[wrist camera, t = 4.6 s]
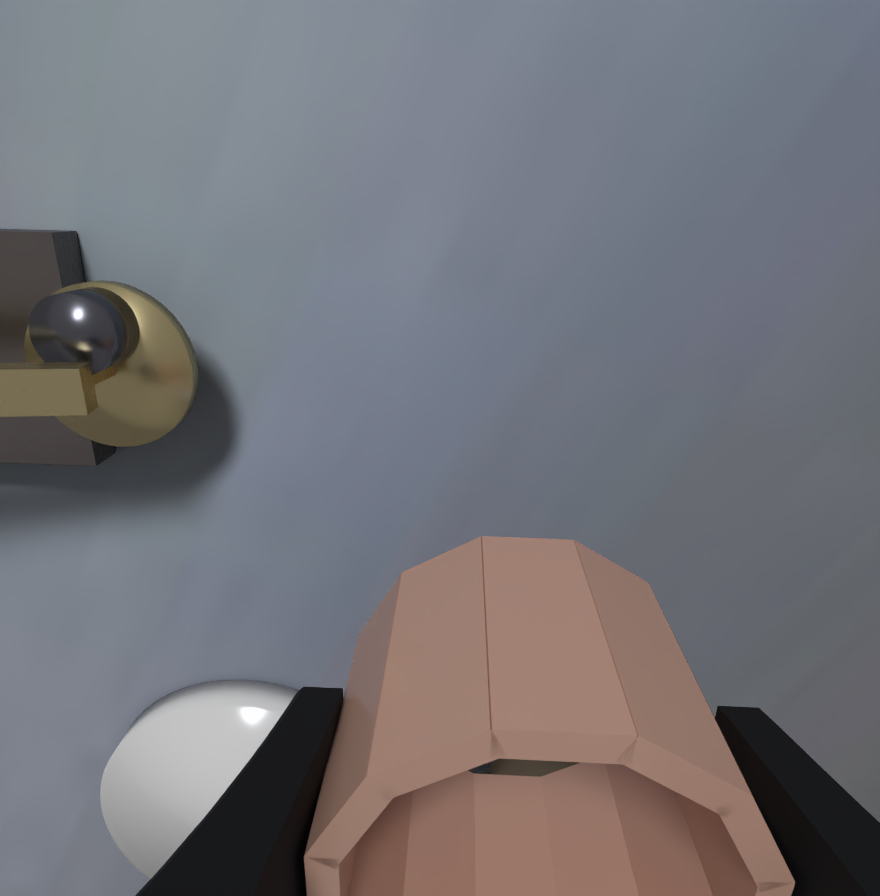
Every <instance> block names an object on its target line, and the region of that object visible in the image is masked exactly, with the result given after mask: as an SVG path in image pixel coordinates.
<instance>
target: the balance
mask: <svg viewBox="0 0 880 896" xmlns="http://www.w3.org/2000/svg"><path fill="white" fill-rule="evenodd" d="M198 379H199V375H198V364H197V359H196V355H195V352H194V349H193V346H192V343H191V341H190V339H189V337H188V335H187V333H186V332H185V330H184V328H183V327H182V325H181V324H180V323H179V321H178V320H177V319H176V317H175V316H174V315H173V314H172V313H171V312H170V311H169V310H168V309H167V308H166V307H165V306H164V305H163V304H161V303H160V302H159V301H158V300H156V299H155V298H153V297H152V296H150V295H149V294H147V293H145V292H143V291H141V290H139V289H137V288H135V287H132V286H129V285H127V284H123V283H118V282H114V281H103V280H102V281H89V282H85V278H84V272H83V267H82V261H81V255H80V250H79V244H78V238H77V233H76V231H57V230H20V229H0V462H2V463H28V464H55V465H81V466H97V465H98V464H100V463H101V462H103V461H104V460H106V459H107V458H108V457H110V456H111V455H113V454H114V453H115V447H114V446H119V447H132V446H139V445H144V444H147V443H150V442H153V441H155V440H157V439H159V438H161V437H163V436H164V435H166V434H167V433H168V432H170V431H171V430H172V429H174V428H175V427H176V426H177V425H178V424H179V423H181V422H182V420H183V419H184V418H185V417H186V416H187V414H188V413H189V411H190V409H191V407H192V405H193V403H194V400H195V398H196V393H197V389H198Z"/></svg>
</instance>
